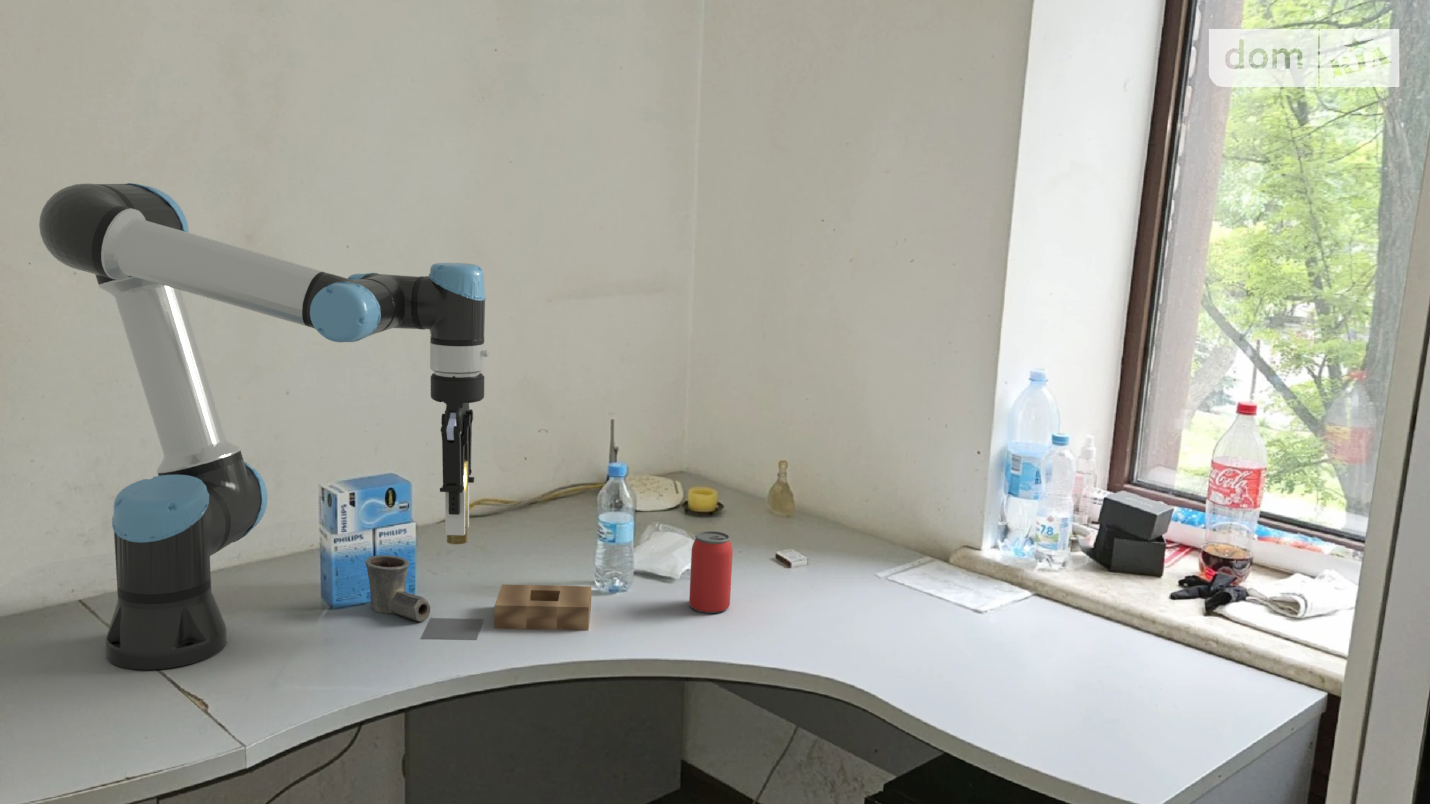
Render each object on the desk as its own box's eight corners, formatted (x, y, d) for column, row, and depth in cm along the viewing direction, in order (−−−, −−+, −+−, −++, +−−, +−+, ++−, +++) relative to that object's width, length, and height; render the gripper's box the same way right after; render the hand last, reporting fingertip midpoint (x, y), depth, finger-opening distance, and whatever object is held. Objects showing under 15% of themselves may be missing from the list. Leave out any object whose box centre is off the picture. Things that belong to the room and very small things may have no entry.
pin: (445, 544, 164) (445, 463, 162) (448, 537, 167) (448, 458, 165) (465, 544, 164) (466, 464, 162) (469, 538, 167) (469, 459, 165)
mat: (420, 641, 164) (420, 638, 164) (430, 620, 171) (430, 618, 171) (476, 642, 164) (476, 639, 164) (483, 621, 172) (483, 619, 172)
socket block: (494, 630, 169) (494, 605, 168) (501, 608, 178) (501, 584, 177) (588, 632, 170) (588, 607, 169) (590, 610, 179) (591, 586, 178)
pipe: (407, 631, 167) (407, 579, 166) (355, 609, 175) (355, 559, 173) (440, 619, 172) (440, 569, 171) (388, 598, 180) (388, 550, 178)
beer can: (729, 615, 179) (733, 543, 177) (688, 613, 179) (691, 541, 177) (729, 601, 186) (733, 531, 183) (690, 598, 186) (693, 528, 183)
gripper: (476, 382, 153) (475, 548, 158) (491, 364, 169) (490, 515, 173) (419, 381, 153) (420, 547, 157) (440, 363, 168) (441, 514, 173)
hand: (457, 530), depth 165 cm, fingers closed on pin, 3 cm apart
